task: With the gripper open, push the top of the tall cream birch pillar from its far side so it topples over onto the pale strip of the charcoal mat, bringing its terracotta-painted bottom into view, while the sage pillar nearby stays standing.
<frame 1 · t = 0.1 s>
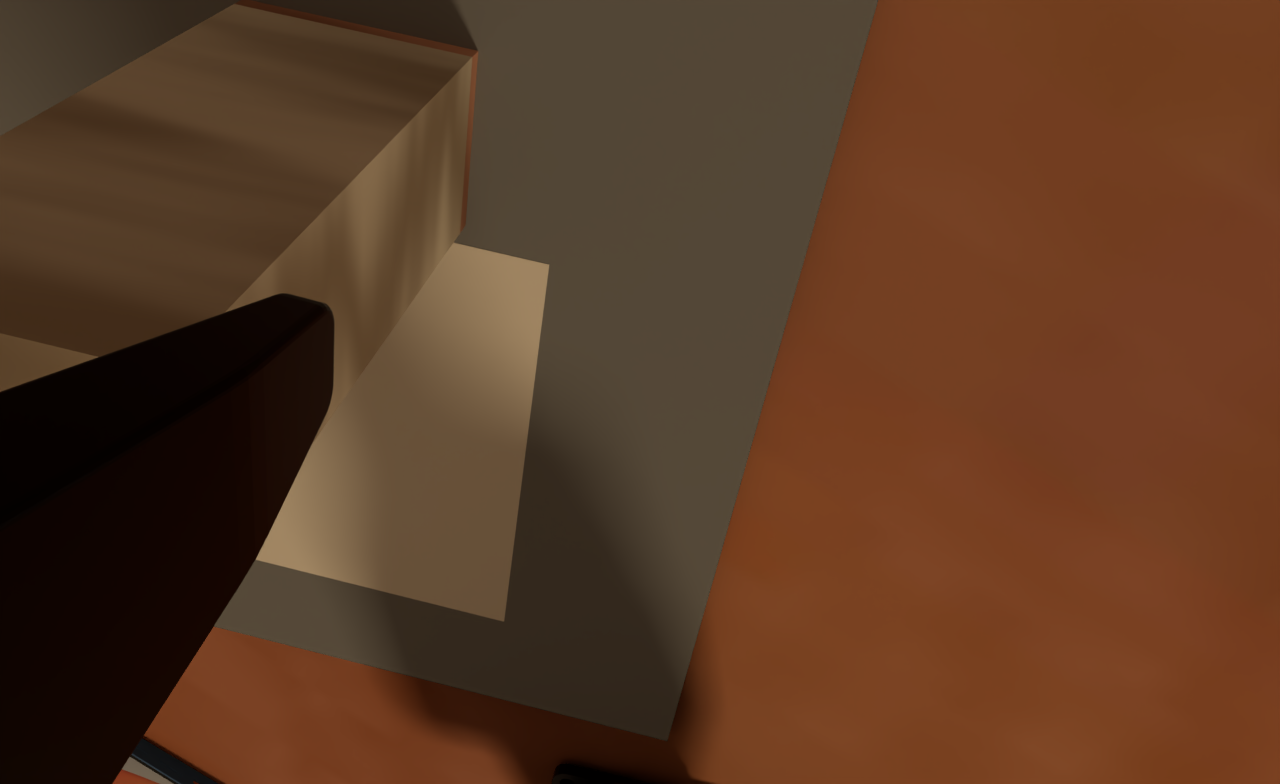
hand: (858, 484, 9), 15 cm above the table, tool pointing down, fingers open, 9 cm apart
flip mat: (365, 302, 27), on the table
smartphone: (61, 734, 41), on the table
birch pillar: (359, 117, 23), resting on flip mat
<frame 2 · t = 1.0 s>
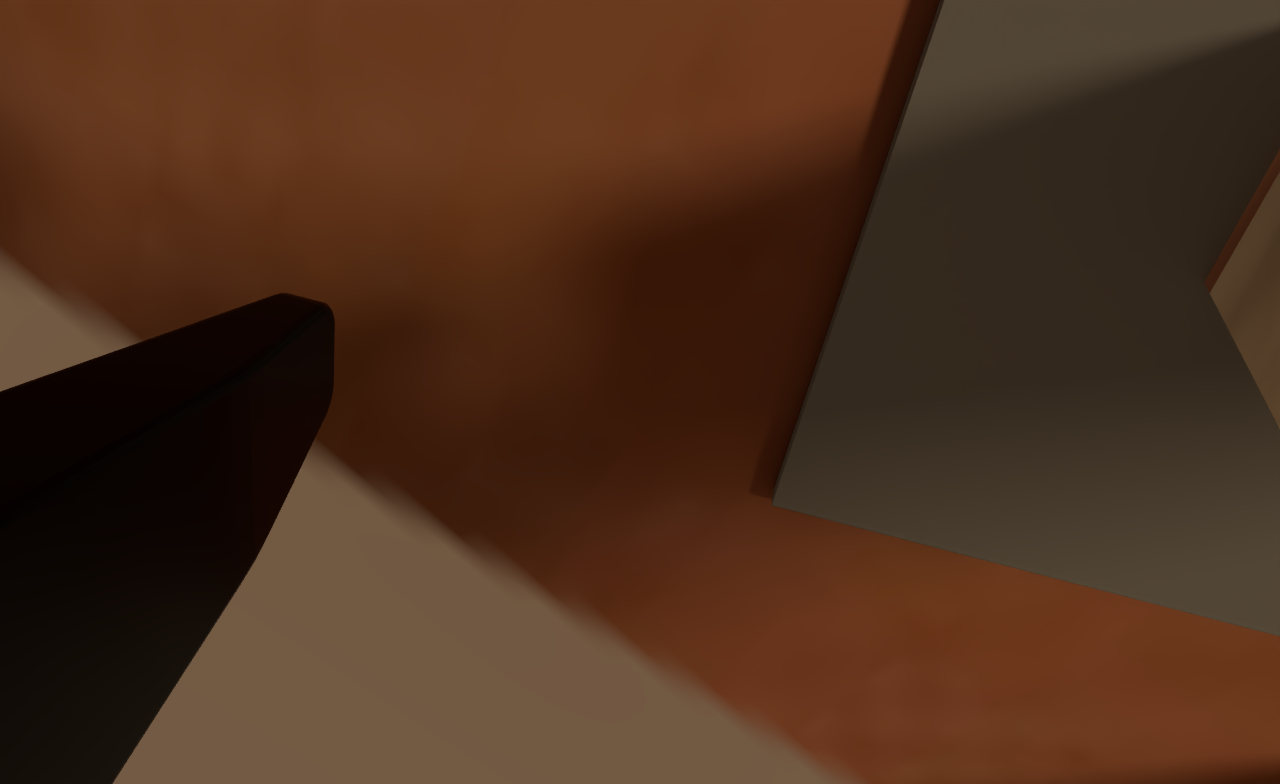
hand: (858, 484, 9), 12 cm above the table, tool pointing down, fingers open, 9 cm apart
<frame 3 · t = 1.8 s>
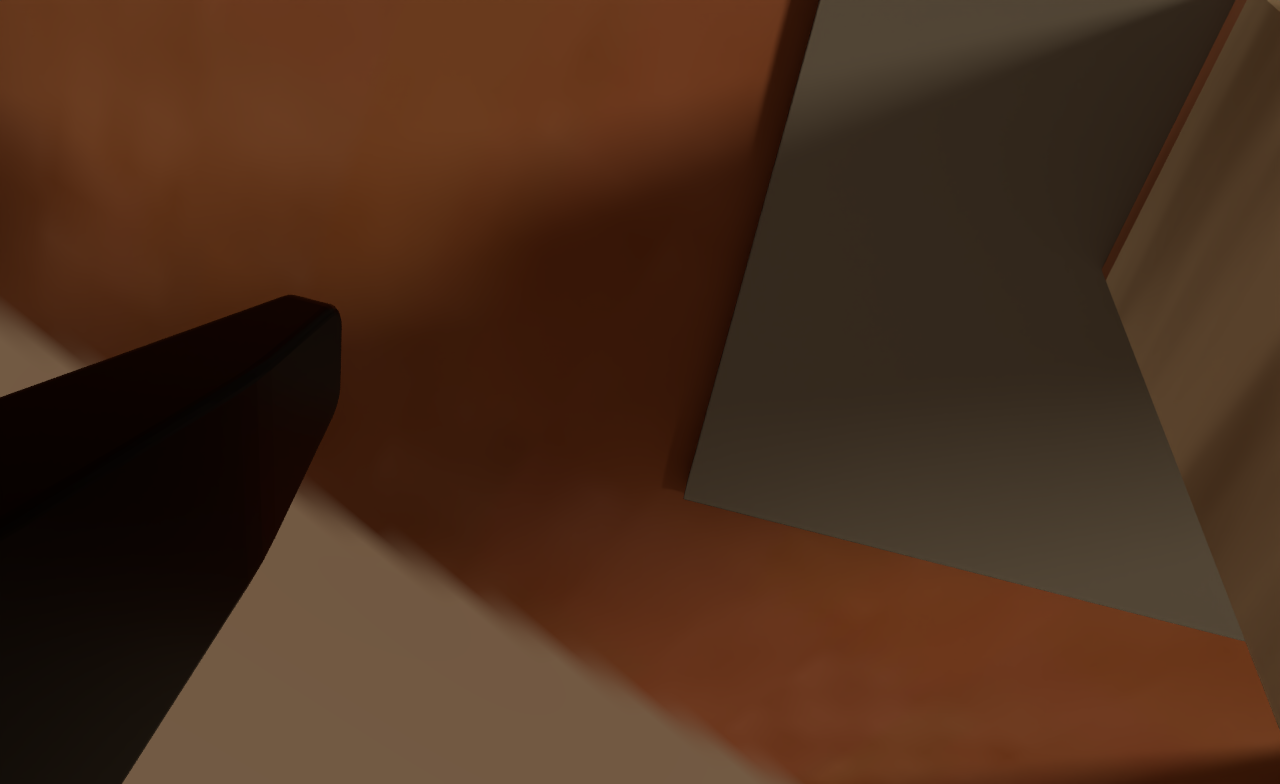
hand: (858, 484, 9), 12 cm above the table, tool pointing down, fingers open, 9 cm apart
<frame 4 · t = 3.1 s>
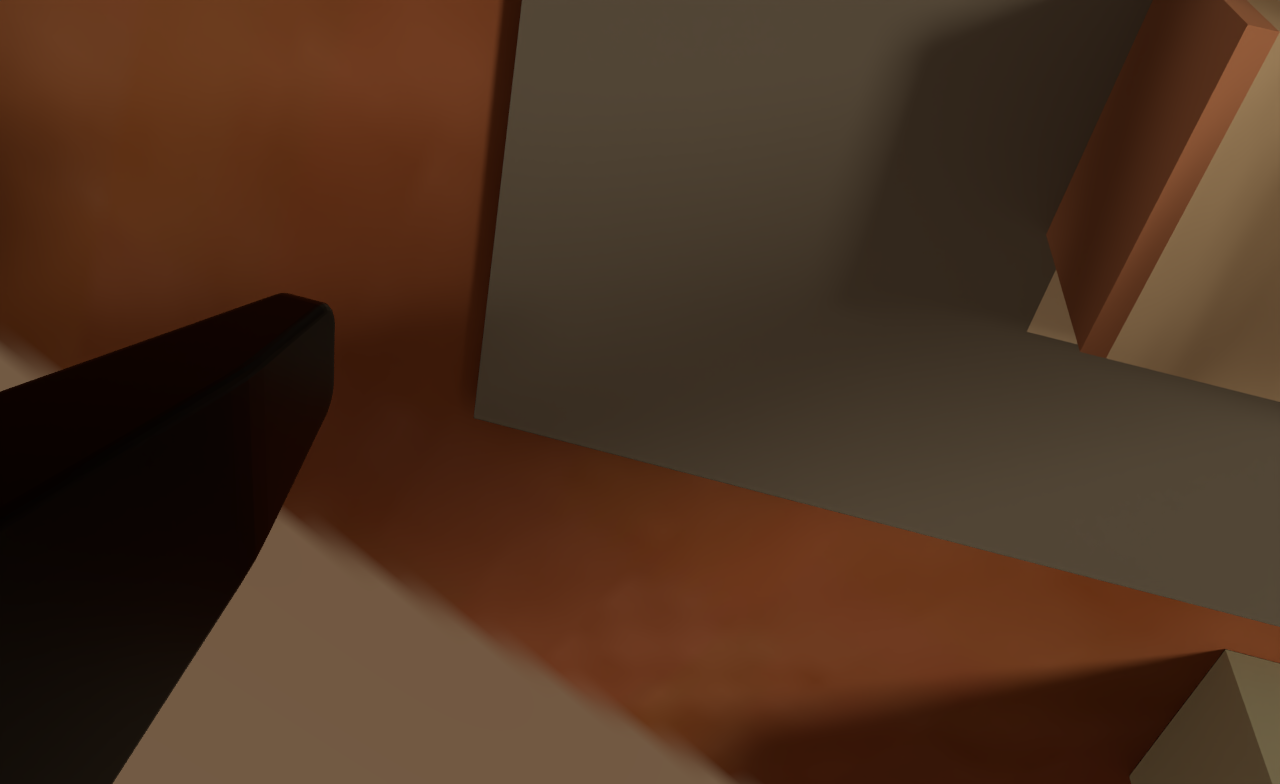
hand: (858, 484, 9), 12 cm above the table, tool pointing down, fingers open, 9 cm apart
flip mat: (1270, 134, 18), on the table
sage pillar: (1255, 737, 26), on the table
birch pillar: (1128, 149, 17), point 3 cm above the table, tilted 90°, touching flip mat
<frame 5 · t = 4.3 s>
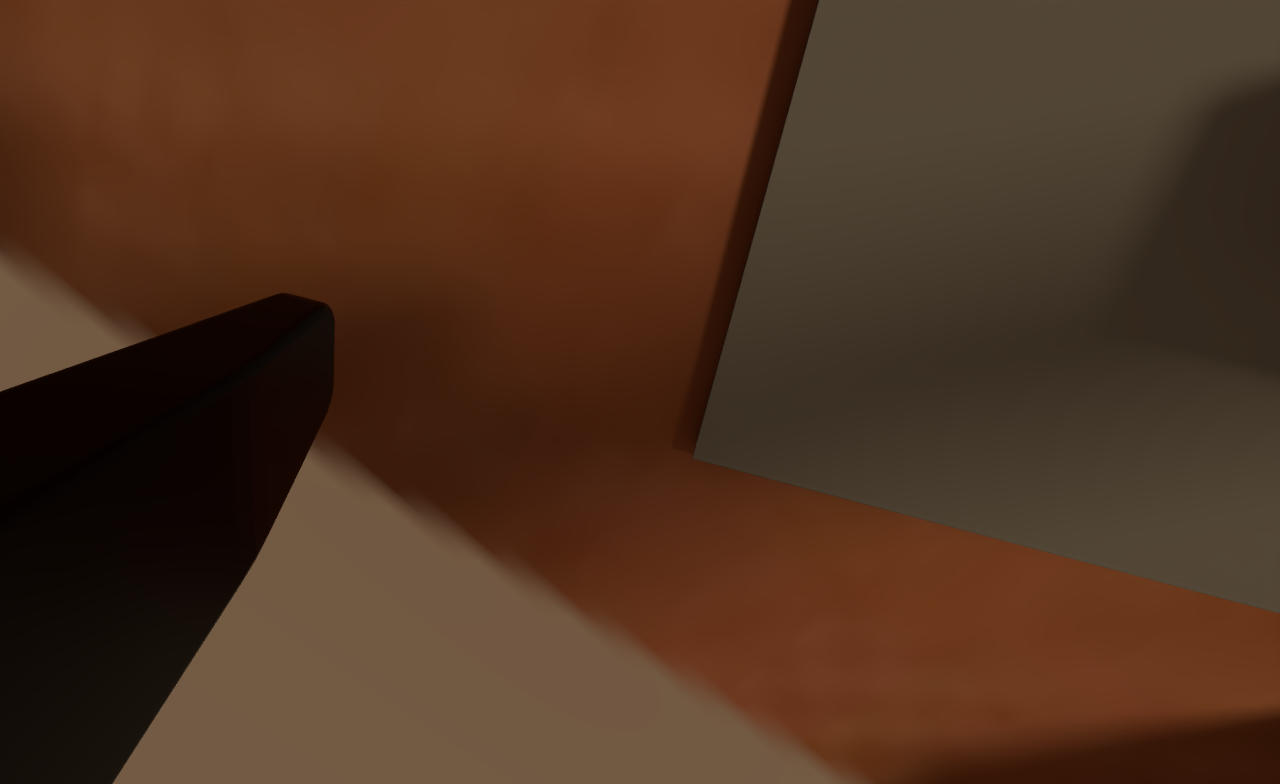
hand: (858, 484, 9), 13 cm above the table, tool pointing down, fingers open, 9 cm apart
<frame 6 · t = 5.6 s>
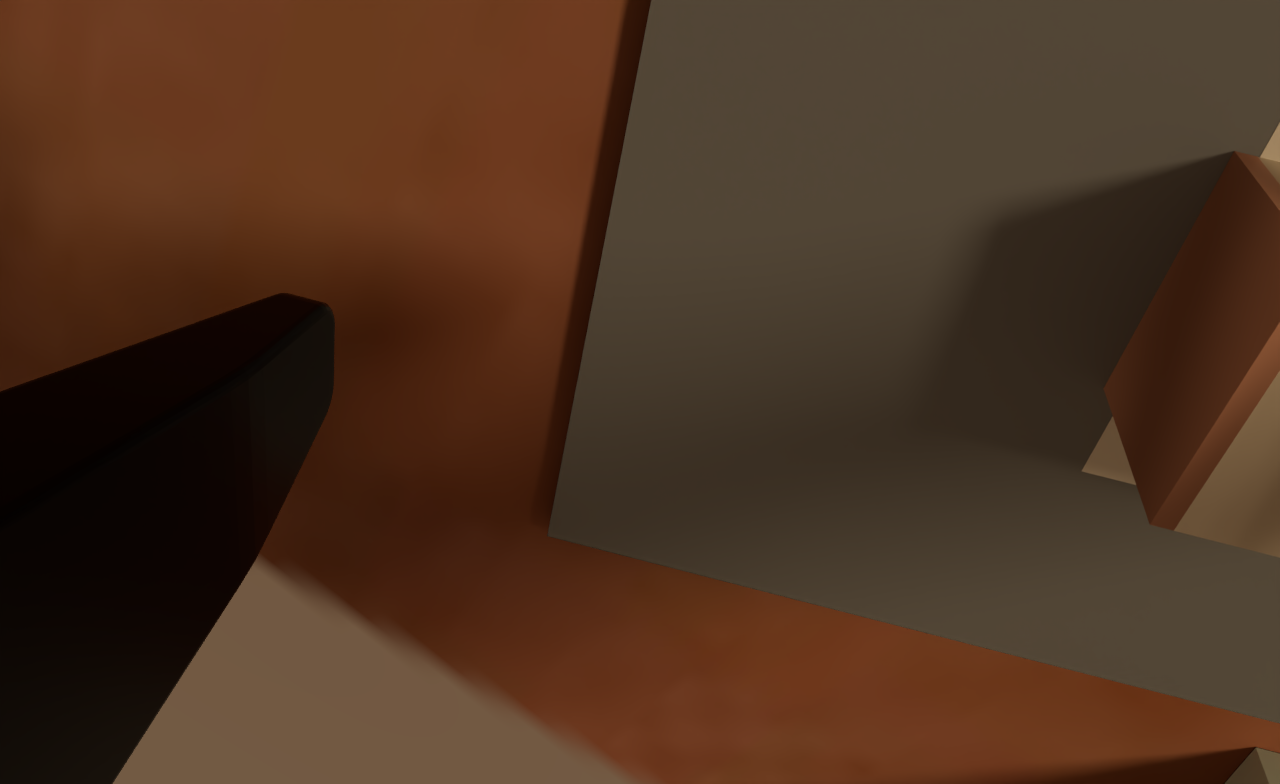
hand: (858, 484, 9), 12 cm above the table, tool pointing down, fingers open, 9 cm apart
birch pillar: (1192, 336, 18), point 3 cm above the table, tilted 90°, touching flip mat
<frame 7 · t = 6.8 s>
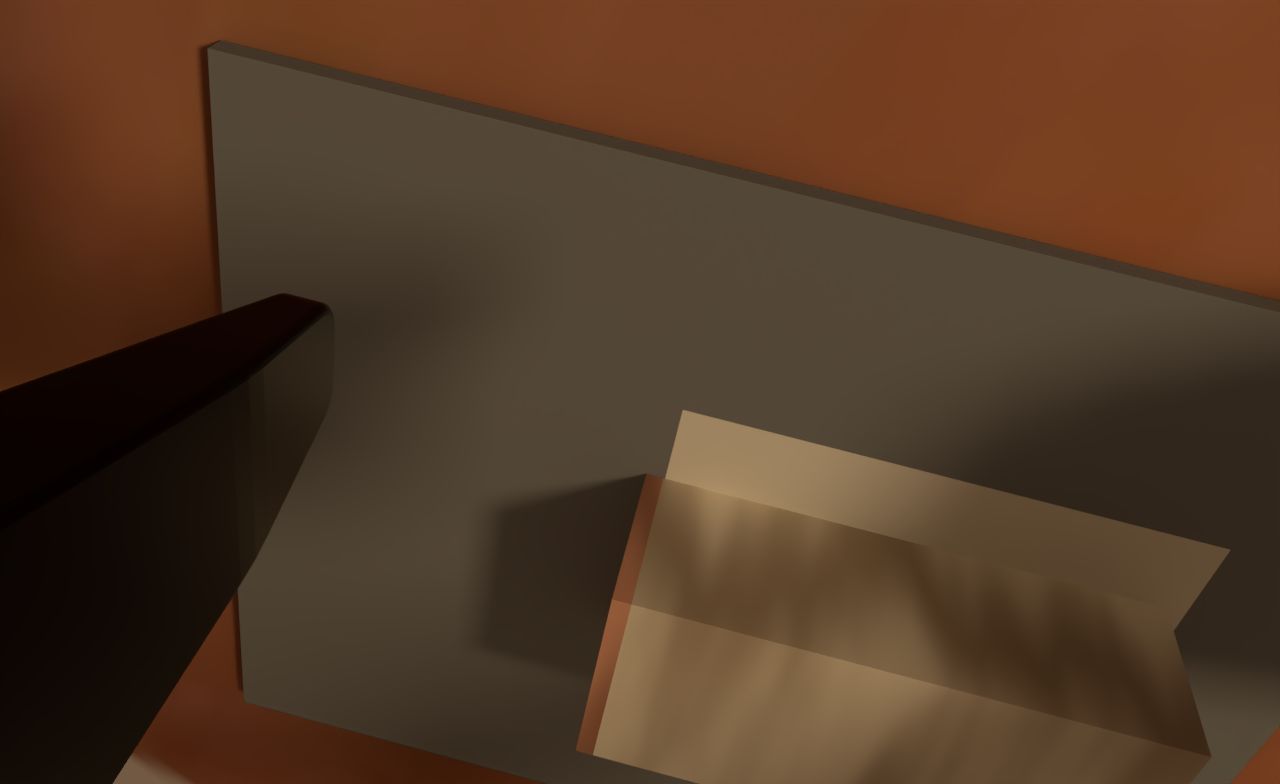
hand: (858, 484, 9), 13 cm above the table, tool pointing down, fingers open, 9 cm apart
flip mat: (747, 567, 26), on the table
birch pillar: (611, 611, 25), point 3 cm above the table, tilted 90°, touching flip mat
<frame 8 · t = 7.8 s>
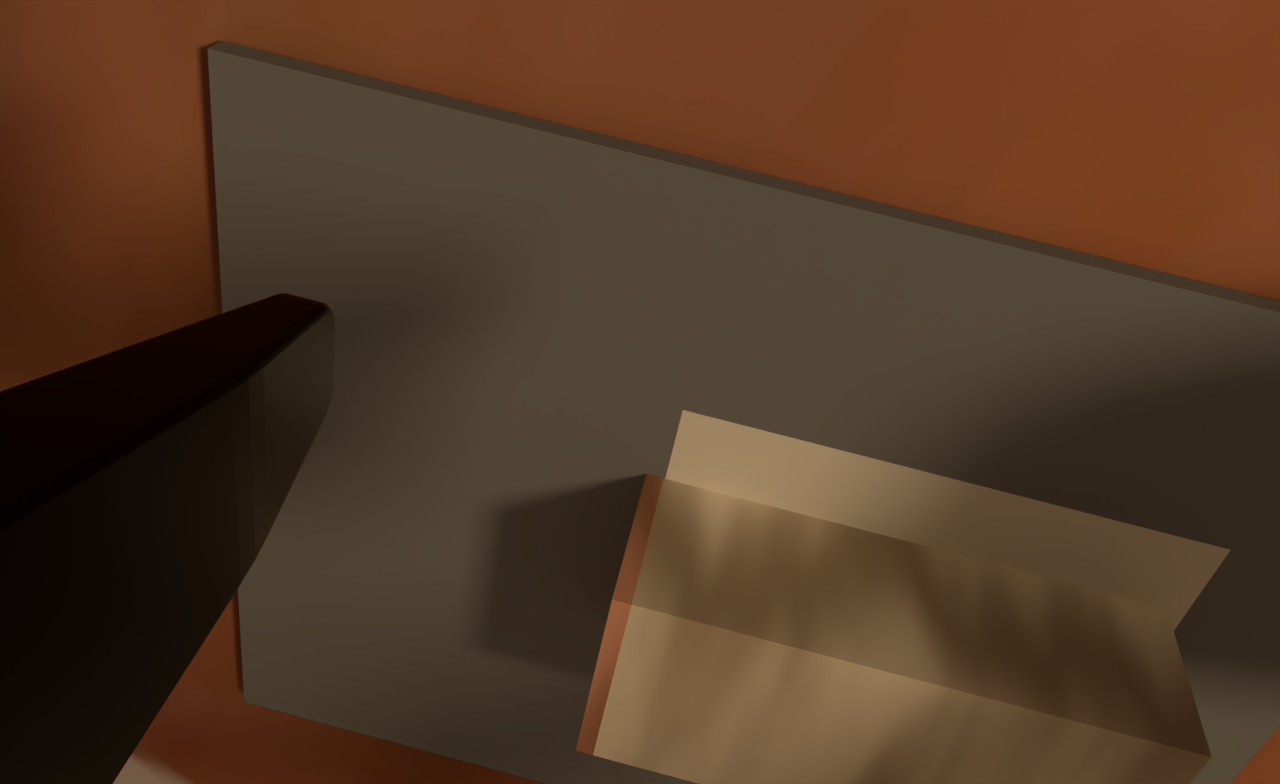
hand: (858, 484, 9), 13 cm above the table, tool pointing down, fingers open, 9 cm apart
flip mat: (748, 567, 26), on the table
birch pillar: (611, 611, 25), point 3 cm above the table, tilted 90°, touching flip mat
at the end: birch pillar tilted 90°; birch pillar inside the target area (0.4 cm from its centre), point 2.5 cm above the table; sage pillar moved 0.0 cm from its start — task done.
